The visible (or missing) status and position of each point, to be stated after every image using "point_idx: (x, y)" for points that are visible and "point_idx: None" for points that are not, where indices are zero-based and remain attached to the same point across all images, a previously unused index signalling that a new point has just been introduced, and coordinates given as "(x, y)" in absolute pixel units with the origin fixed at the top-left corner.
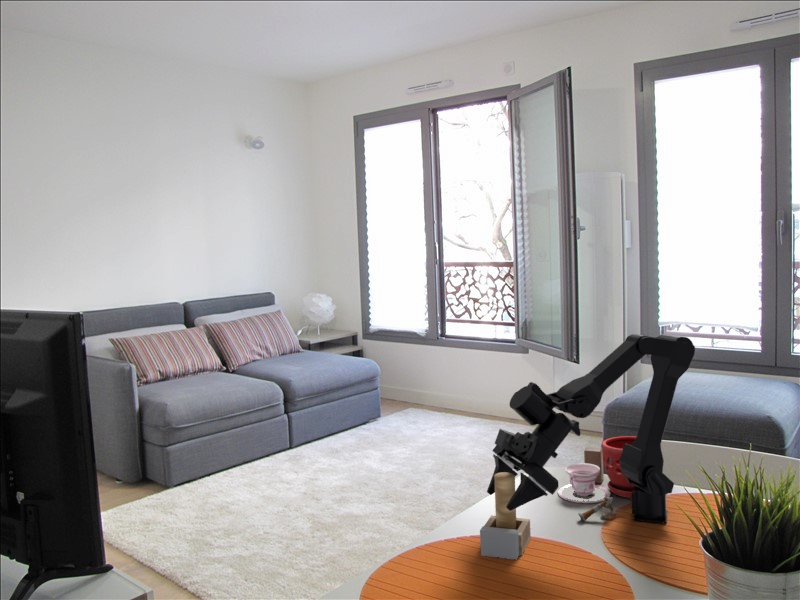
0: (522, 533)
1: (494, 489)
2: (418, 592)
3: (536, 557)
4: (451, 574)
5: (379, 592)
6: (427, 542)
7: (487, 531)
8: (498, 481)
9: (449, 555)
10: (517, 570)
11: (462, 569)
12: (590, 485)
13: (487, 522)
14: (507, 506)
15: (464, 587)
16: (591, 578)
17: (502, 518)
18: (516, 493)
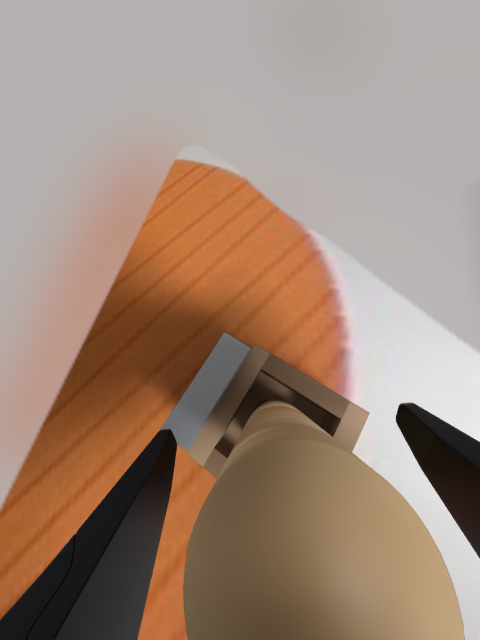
0: (203, 466)
1: (421, 453)
2: (145, 223)
3: (184, 472)
4: (180, 276)
5: (167, 178)
6: (326, 255)
7: (212, 351)
8: (240, 453)
9: (254, 285)
10: (145, 400)
11: (190, 297)
12: None
13: (310, 381)
14: (157, 434)
15: (129, 287)
16: (39, 566)
17: (248, 419)
18: (85, 534)
